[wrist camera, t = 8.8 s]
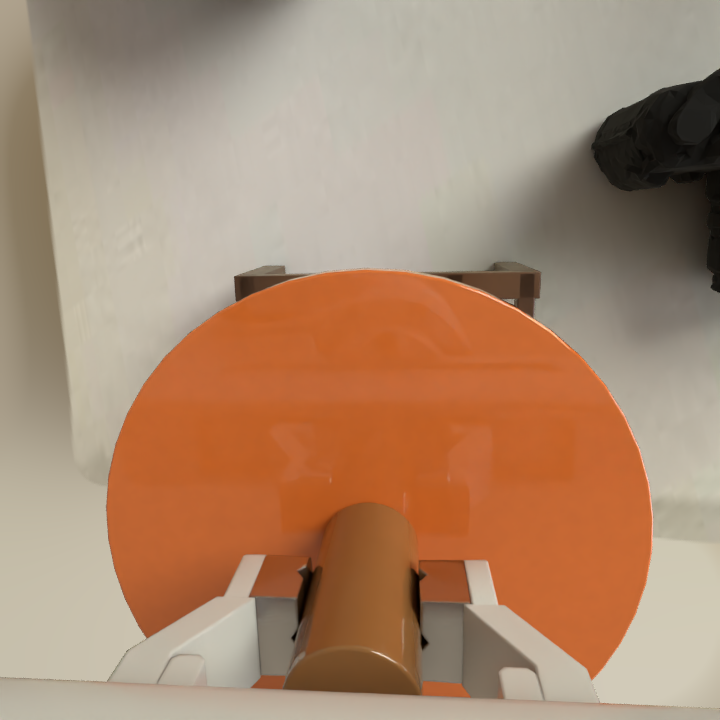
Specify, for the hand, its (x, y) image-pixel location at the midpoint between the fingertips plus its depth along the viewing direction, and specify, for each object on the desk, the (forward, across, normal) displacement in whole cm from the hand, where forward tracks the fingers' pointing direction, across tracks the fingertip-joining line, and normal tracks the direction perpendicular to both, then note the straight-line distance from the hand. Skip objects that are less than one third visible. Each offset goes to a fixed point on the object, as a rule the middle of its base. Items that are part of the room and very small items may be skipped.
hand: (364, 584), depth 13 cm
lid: (+2, 0, 0) cm, 2 cm away
